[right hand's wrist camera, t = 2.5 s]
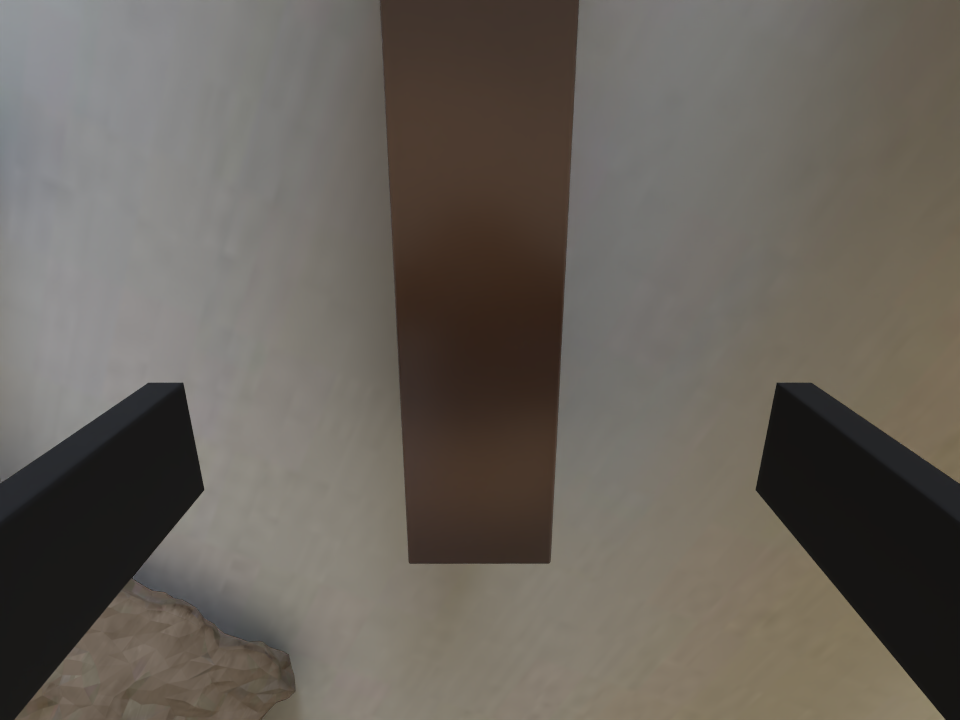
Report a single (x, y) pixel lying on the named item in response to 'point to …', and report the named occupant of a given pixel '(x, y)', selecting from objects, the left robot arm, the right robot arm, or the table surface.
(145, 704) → the stone
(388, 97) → the walnut bar
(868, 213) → the table surface
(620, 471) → the table surface
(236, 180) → the table surface
